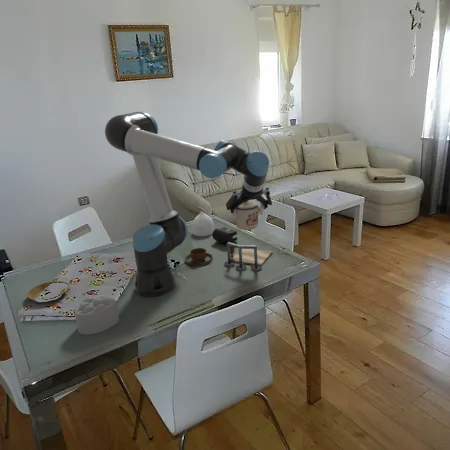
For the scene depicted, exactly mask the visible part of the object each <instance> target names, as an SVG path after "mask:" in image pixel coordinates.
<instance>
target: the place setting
mask: <svg viewBox="0 0 450 450" xmlns="http://www.w3.org/2000/svg"><path fill="white" fill-rule="evenodd" d="M234 253H235V247H232V246H230V257H231V259H232V258H233V257H234ZM207 257H208V258H210V259H209V260H207V261H205V262H204V260H205V259H206V258H207ZM189 259H191V260H192V261H194V262H196V263H193V262H189V261H188V260H189ZM212 260H213V255H212V254H211V253H209V252H207V250H206V249H205V248H201V247H198V248H193V249H191V250H190V252H189V254H188V255H187V256H185V259H184V261H185V263H186V264H187V265H189V266H187V265H185V267H186V268H189V269H191V270H196V269H197V267H198V266H199V267H200V266H205V265H207V264H210V263H211V262H212ZM196 266H197V267H196Z"/></svg>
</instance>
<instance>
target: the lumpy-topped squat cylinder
mask: <svg viewBox="0 0 450 450" xmlns="http://www.w3.org/2000/svg"><path fill="white" fill-rule="evenodd" d="M74 316H75V321H76V326H77V330H78V333H79V334H81V335H93V334H98V333H102V332H104V331H106V330H108V329H110V328H112V327H114V326H115V325H117V324H118V323H119V322H120V315H119V308H118V304H117V300H116V299H114V298H111V297H110V296H109V295H107V294H98V295H95V296H87V297H86V298H85V299H84V300H83V301H82V302H80V304H78V305H77V306H76V308H75V309H74Z"/></svg>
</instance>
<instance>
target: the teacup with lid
mask: <svg viewBox="0 0 450 450" xmlns="http://www.w3.org/2000/svg"><path fill="white" fill-rule="evenodd" d="M259 208H260V206H259V204H258V203H257V202H255V201H253V200H247V201H246V202H245V203H242V204H241V205H240V206H238V207H237V208H236V214H235V221H236V228H237V229H239V230H247V231H248V230H255V229H256V228H258V226H259V217H258V216H259V215H260V209H259Z"/></svg>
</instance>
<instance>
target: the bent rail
mask: <svg viewBox="0 0 450 450" xmlns="http://www.w3.org/2000/svg"><path fill="white" fill-rule="evenodd" d="M230 246H232V247H234V248H236V249H238V252H239V263H238V265H236V263H235V262H233V261H231V254H230ZM242 249H254V261H255V265H250V270H251V271H253V272H259V270H260V271H261V270H262V269H263V267H262V266H260V265H258V261H257V249H258V246H256V245H249V244H248V245H247V244H245V245H242V244H237V243H236V244H234V243H230V242H228V243H227V244H226V254H227V261H225V262H224V263H223V265H224V267H226V268H231V267H234V266H235V265H236V266H235V269H236V271H239V272H240V271H242V270H243V271H246V270H247V269H246V268H247V264H242ZM245 269H246V270H245ZM243 271H242V272H243Z"/></svg>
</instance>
